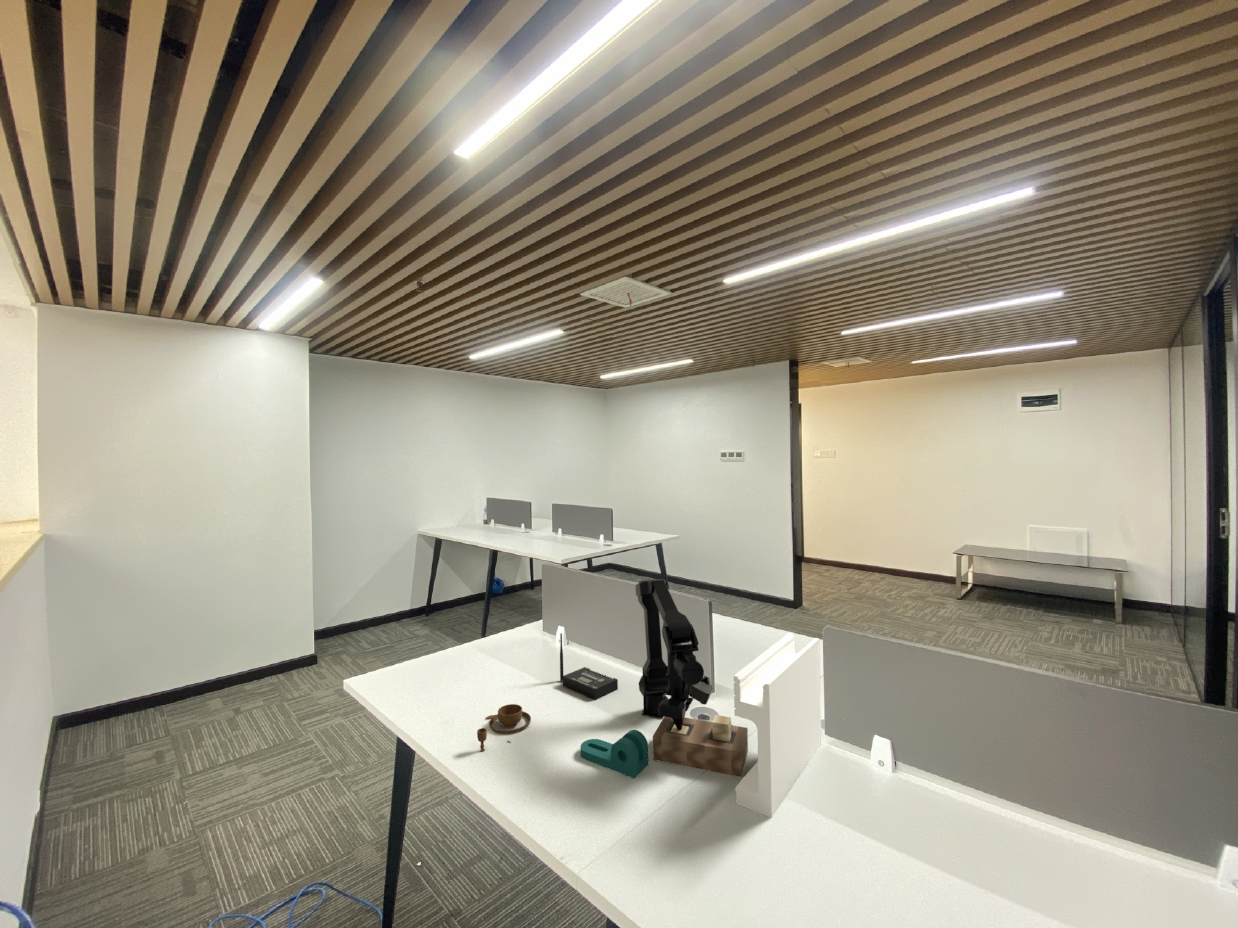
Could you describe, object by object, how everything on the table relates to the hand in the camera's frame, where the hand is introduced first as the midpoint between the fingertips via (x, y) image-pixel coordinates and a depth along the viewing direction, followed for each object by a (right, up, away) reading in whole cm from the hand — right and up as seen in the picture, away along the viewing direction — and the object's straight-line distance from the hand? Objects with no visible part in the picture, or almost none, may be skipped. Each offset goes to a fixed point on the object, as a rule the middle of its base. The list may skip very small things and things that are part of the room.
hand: (679, 729), depth 133 cm
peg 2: (+10, -2, -4) cm, 11 cm away
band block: (+5, -6, -2) cm, 8 cm away
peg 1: (0, -6, 0) cm, 6 cm away
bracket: (-18, -7, -3) cm, 19 cm away
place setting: (-50, -8, +13) cm, 53 cm away
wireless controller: (-27, -7, +41) cm, 49 cm away
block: (+24, -6, -9) cm, 26 cm away
